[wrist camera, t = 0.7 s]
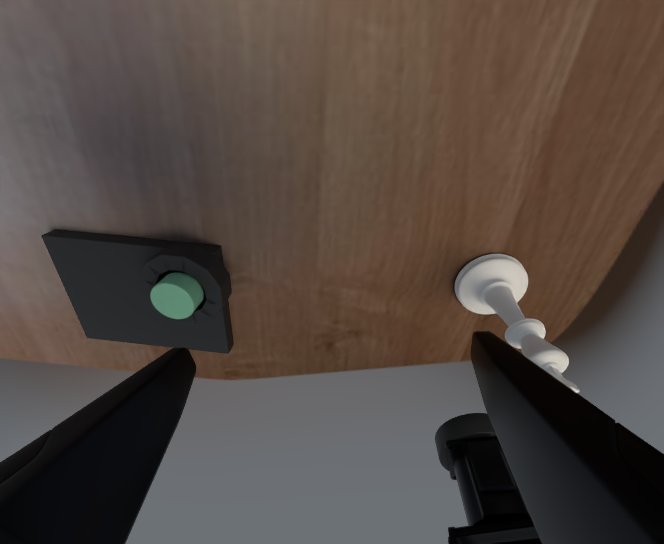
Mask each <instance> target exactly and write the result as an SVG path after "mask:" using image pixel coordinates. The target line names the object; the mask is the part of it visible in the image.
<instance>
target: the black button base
mask: <svg viewBox="0 0 664 544" xmlns="http://www.w3.org/2000/svg"><path fill="white" fill-rule="evenodd" d="M42 238H43V240H44V243H45V245H46V247H47V249H48V252H49V254H50V256H51V258H52V261H53V263H54V265H55V267H56V269H57V272H58V274H59V276H60V278H61V281H62V283H63V285H64V287H65V290H66V292H67V294H68V296H69V298H70V301H71V303H72V305H73V307H74V310H75V312H76V314H77V316H78V319H79V321H80V323H81V325H82V327H83V330H84V332H85V334H86V336H87V338H93V339H102V340H111V341H120V342H129V343H138V344H147V345H156V346H165V347H173V348H178V347H185V348H187V349H191V350H200V351H209V352H218V353H227V354H229V352H230V350H231V348H232V346H233V336H232V328H231V321H230V313H229V305H228V298H229V296H230V295H231V292H232V291H231V283H230V275H229V273H228V272H227V270H226V269H225V267H224V265H223V257H222V250H221V246H216V245H206V244H196V243H185V242H175V241H165V240H155V239H145V238H135V237H125V236H115V235H105V234H95V233H85V232H75V231H65V230H53V231H51V232H48V233H46V234H44V235H42ZM174 272H181V273H185V274H188V275H190V276H192V277H193V278H194V279H196V280H197V281H198V282H199V284H200V285H201V287H202V289H203V293H204V296H203V300H202V302H201V303H200V304H199V306H198V307H197V308H196V309H195V311H194V312H193V313H192V314H191V315H190V316H189V317H187V318H184V319H173V318H170V317H167V316H165V315H163V314H162V313H160V312H159V311H158V310H157V309H156V308H155V307H154V305H153V303H152V301H151V298H150V294H151V290H152V288H153V287H154V286H155V285H156V284H157V283H159V282H160V281H161V280H162V279H163V278H164V277H165V276H166V275H168V274H170V273H174Z"/></svg>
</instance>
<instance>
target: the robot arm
mask: <svg viewBox="0 0 664 544" xmlns="http://www.w3.org/2000/svg"><path fill="white" fill-rule="evenodd" d="M471 360H472V363H473V367H474V370H475V374H476V377H477V380H478V384H479V387H480V391H481V394H482V397H483V401H484V404H485V407H486V410H487V413H488V416H489V418H490V421H491V423H492V426H493V428H494V430H495V433H496V435H497V436H494V437H482V438H470V439H459V440H448V441H446V442H445V448H446V454H447V460H448V465H449V471H450V475H451V478H452V479H453V480H457V482H458V486H459V490H460V494H461V498H462V502H463V505H464V510H465V513H466V518H467V521H468V525H469V526H465V527H458V528H455V527H449V528H448V531H449V537H448V542H449V544H664V454H663V453H661V452H660V451H658V450H657V449H655V448H654V447H653V446H651V445H649V444H648V443H647V442H645V441H644V440H642V439H641V438H639V437H638V436H636V435H635V434H634V433H632V432H631V431H629V430H628V429H627V428H625V427H624V426H622V425H621V424H620V423H615V420H614V419H612V418H611V417H610V416H608V415H607V414H605V413H604V412H603V411H601V410H600V409H598V408H597V407H596V406H594V405H593V404H591V403H590V402H589V401H587V400H586V399H584V398H583V397H582V396H580V395H579V394H577V393H576V392H575V391H573V390H572V389H570V388H569V387H567V386H566V385H565V384H563V383H562V382H560V381H559V380H558V379H556V378H555V377H553V376H552V375H551V374H549V373H548V372H546V371H545V370H544V369H542V368H541V367H539V366H538V365H537V364H535V363H534V362H532V361H531V360H530V359H528V358H527V357H525V356H524V355H522V354H521V353H520V352H518V351H517V350H515V349H514V348H513V347H511V346H510V345H508V344H507V343H506V342H504V341H503V340H501V339H500V338H499V337H497V336H496V335H494V334H493V333H492V332H490V331H475V332H474V333H473V336H472V345H471ZM195 373H196V364H195V362H194V360H193V358H192V356H191V354H190V352H189V350H188V349H187V348H185V347H178V348H172V349H171V350H169V351H168V352H166V353H165V354H163V355H162V356H160V357H159V358H157V359H156V360H154V361H153V362H151V363H150V364H148V365H147V366H145V367H144V368H142V369H141V370H139V371H138V372H136V373H135V374H133V375H132V376H130V377H129V378H127V379H126V380H124V381H123V382H121V383H120V384H118V385H117V386H115V387H114V388H112V389H111V390H109V391H108V392H106V393H105V394H103V395H102V396H100V397H99V398H97V399H96V400H94V401H93V402H91V403H90V404H88V405H87V406H85V407H84V408H82V409H81V410H79V411H78V412H76V413H75V414H73V415H72V416H70V417H69V418H67V419H66V420H64V421H63V422H61V423H60V424H58V425H57V426H55V427H54V428H53V429H52V430H49V431H48V432H46V433H45V434H43V435H42V436H40V437H39V438H37V439H36V440H34V441H33V442H31V443H30V444H28V445H27V446H25V447H23V448H22V449H21V450H19V451H17V452H16V453H14V454H13V455H11V456H10V457H8V458H6V459H5V460H3V461H2V462H0V544H125V543H126V541H127V538H128V536H129V534H130V532H131V529H132V527H133V525H134V523H135V520H136V518H137V516H138V513H139V511H140V509H141V507H142V504H143V502H144V500H145V498H146V495H147V493H148V491H149V488H150V486H151V484H152V482H153V479H154V477H155V475H156V472H157V470H158V468H159V466H160V463H161V461H162V459H163V457H164V454H165V452H166V450H167V447H168V445H169V443H170V441H171V438H172V436H173V434H174V432H175V429H176V427H177V424H178V422H179V420H180V417H181V415H182V412H183V409H184V406H185V403H186V400H187V397H188V394H189V391H190V388H191V385H192V382H193V379H194V376H195Z"/></svg>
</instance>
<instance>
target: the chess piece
mask: <svg viewBox="0 0 664 544" xmlns="http://www.w3.org/2000/svg"><path fill="white" fill-rule="evenodd" d="M527 286H528V276H527V273H526V271H525V269H524V268H523V266H522V264H521V263H520V262H519V261H518V260H516V259H515V258H513V257H511V256H508V255H505V254H489V255H485V256H481V257H479V258H477V259H475V260H473V261H471V262H470V263H468V264H467V265H466V266H465V267H464V268H463V269H462V270H461V271H460V273H459V274H458V276H457V278H456V281H455V294H456V296H457V298H458V300H459V301H460V302H461V303H462V305H463V306H464V307H465V308H467V309H468V310H470V311H472V312H475V313H478V314H495V313H497V314H498V315H499V316H500V317H501V318H502V320H503V321H504V322H505V323H506V324H507V325H508V326H509V327H508V328H507V330H506V332H505V339H506V341H507V342H508V343H509V344H510V345H511V346H513V347H515V348H519V349H521V350H522V353H523V355H524V356H525V357H527V358H528V359H530V360H531V361H532V362H534V363H535V364H537V365H538V366H539V367H541V368H542V369H544V370H545V371H546V372H548V373H549V374H551V375H552V376H553V377H555V378H556V379H558V380H559V381H560V382H562V383H563V384H565V385H566V386H567V387H569V388H570V389H572V390H573V391H575V392H576V393H578V392H579V391H580V390H579V389H578V387H577V386H576V385H575V384H574V383H572V382H570V381H568V380H566V379H564V378H563V376H562V375H561V373H562V372H563V371H565V369H566V368H567V366H568V364H569V359H568V357H567V355H566V354H565V353H564V352H563V351H562V350H560V349H558V348H557V347H555V346H553V345H551V344H550V343H548V342H547V341H546V340H544V337H545V334H546V331H545V327H544V325H543V324H542V323H541V322H540V321H539V320H536V319H531V318H527V319H525V317H524V315H523V314H522V312H521V310H520V308H519V306H518V304H517V302H518V301H519V300H520V299H521V298H522V297H523V295H524V294H525V292H526V290H527Z"/></svg>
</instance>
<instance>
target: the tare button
mask: <svg viewBox="0 0 664 544" xmlns="http://www.w3.org/2000/svg"><path fill="white" fill-rule="evenodd" d="M203 296H204V293H203V289H202V287H201V285H200V284H199V282H198V281H197V280H196V279H194V278H193V277H192V276H190V275H188V274H185V273H181V272H174V273H170V274H168V275H166V276H165V277H164V278H163V279H162V280H161V281H160V282H159V283H157V284H156V285H155V286H154V287H153V288H152V290H151V294H150V298H151V301H152V303H153V305H154V307H155V308H156V309H157V310H158V311H159V312H160V313H162V314H163V315H165V316H167V317H170V318H173V319H184V318H187V317H189V316H190V315H191V314H192V313H193V312H194V311H195V309H196V308H197V307H198V306H199V304H200V303H201V302H202V300H203Z"/></svg>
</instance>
